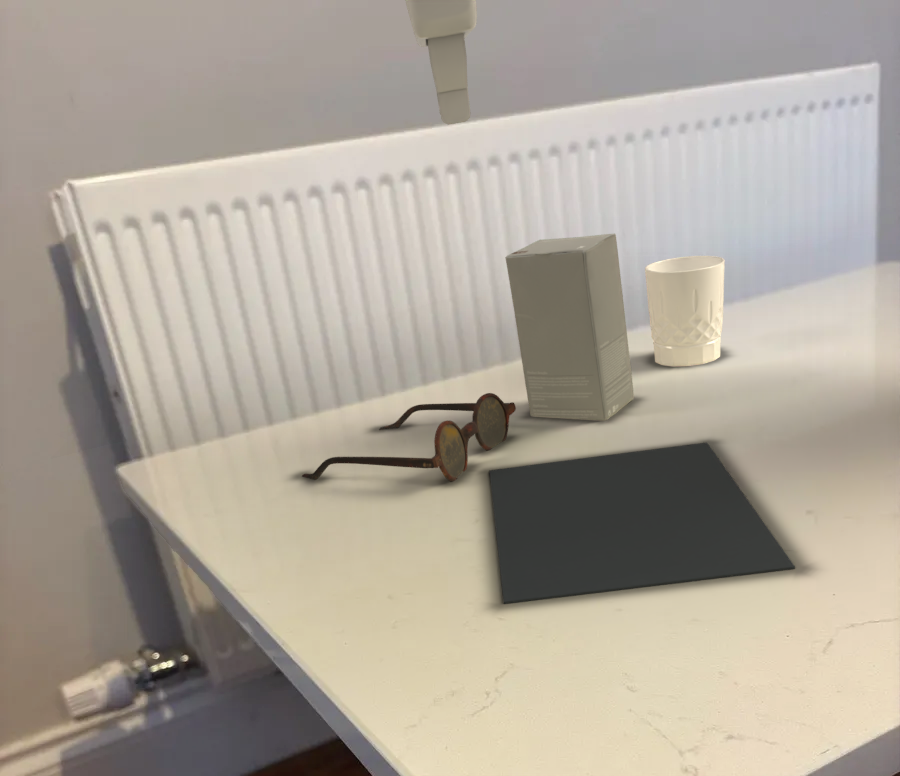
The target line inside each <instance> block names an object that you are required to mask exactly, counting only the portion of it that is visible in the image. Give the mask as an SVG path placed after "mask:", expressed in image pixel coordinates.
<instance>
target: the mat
mask: <svg viewBox="0 0 900 776" xmlns="http://www.w3.org/2000/svg"><path fill="white" fill-rule="evenodd" d="M489 479H490V480H489V482H490V490H491V497H492V509H493V517H494V526H495V535H496V544H497V545H496V546H497V554H498V563H499V574H500V581H501V583H500V584H501V590H502V599H503V600H502V602H503V605H509V604H517V603H526V602H534V601H535V602H536V601H542V600H550V599H552V600H553V599H558V598H568V597H575V596H584V595H592V594H600V593H608V592H617V591H624V590H625V591H626V590H634V589H641V588H642V589H643V588H649V587H650V588H651V587H659V586H666V585H674V584H675V585H676V584H681V583H690V582H701V581H706V580H707V581H708V580H717V579H724V578H725V579H726V578H732V577H733V578H734V577H741V576H749V575H756V574H765V573H773V572H782V571H790V570H795V569H796V566H795V565H794V563H793V562H792V560H791V559H790V557H789V556H788V555H787V553H786V551H785V550H784V549H783V547H782V546H781V544H780V543H779V542H778V541H777V539H776V538H775V536H774V535H773V533H772V532H771V530H770V529H769V528H768V526H767V525H766V524H765V522H764V521H763V519H762V518H761V517H760V515H759V514H758V513H757V511H756V510H755V508H754V507H753V506H752V504H751V503H750V501H749V500H748V499H747V497H746V496H745V494H744V493H743V491H742V490H741V489H740V487H739V485H738V484H737V483H736V481H735V480H734V478H733V477H732V476H731V475H730V473H729V472H728V469H727V468H725V466H724V464H723V463H722V462H721V460H720V458H718V455H716V453H715V451H714V450H713V449H712V448H711V446H710V445H709V443H708V442H700V443H691V444H683V445H675V446H667V447H661V448H651V449H645V450H636V451H628V452H622V453H613V454H605V455H598V456H590V457H589V456H588V457H583V458H574V459H567V460H557V461H552V462H542V463H536V464H528V465H520V466H512V467H504V468H499V469H497V468H496V469H490V470H489Z"/></svg>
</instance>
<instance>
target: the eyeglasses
mask: <svg viewBox="0 0 900 776" xmlns="http://www.w3.org/2000/svg"><path fill="white" fill-rule="evenodd" d="M516 409H517V407H516V404H515V402H504V401H503V400H502V398H500V397H499V396H498V395H497V394H495V393H492V392H487V393H484V394H482V395H481V396H480V397H479V398H478V399H476V402H457V403H456V402H455V403H453V402H452V403H451V402H449V403H422V404H416V405H413V406H410V407H409V408H408V409H407V410H406V411H404V413H403V414H402V415H400V417H399V418H398V419H397V420H396V421H395V422H393V423H391V424H387V425H384V426H381V427H380V428H378V430H379V431H386V430H393V429H399V428H400V427H401V426H402V425H403V424H404V423H405V422H406V421H407V419H409V417H410V416H411V415H412V414H413V413H416V412H420V411H457V412H458V411H459V412H472V418H471V419H472V420H471V421H470V422H468V423H466V424H465V425H464V426H463V427H462V428H460V427H459V426H458V425H457V423H455V422H454V421H452V420H444V421H442V422H441V423H440V424H439V425H438V426H437V428H436V431H435V435H434V441H433V442H434V455H433V456H432V457H405V456H404V457H401V456H399V457H398V456H332V457H329V458H327V459H325V460H323V462H322V463H320V465H318V467H317V468H316V469H315V471H313V473H302V475H301V477H303V478H307V479H311V480H317V479H319V478H320V477H321V476H322V474H323V473H324V472H325V471H326V469H328V467H329V466H331V465H334V464H349V465H350V464H353V465H354V464H355V465H356V464H357V465H368V466H370V465H371V466H382V467H383V466H385V467H396V468H397V467H398V468H413V469H438V468H439V470H440V471H441V473H442V475H443V476H444V477H445V479H447V480H448V481H449V482H455V481H456V480H457V479H458V477H459V476H460V475H461V474H462V473H464V472H465V471H466V470H467V469H468V460H469V458H468V457H469V456H468V454H469V453H468V447H469V446H468V445H469V440H470V439H471V438H472V437H473V436H475V440H476V441H477V443H478V445H479V446H480V447H481V448H482V449H484V450H485V451H491V450H492V449H493V448H495V447H496V446H498V445H499V444H501V443H502V442H505V441H506V439H507V438H508V433H509V426H510V417H511V415H512V414H513V413H514V412H516Z"/></svg>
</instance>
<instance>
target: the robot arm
mask: <svg viewBox="0 0 900 776" xmlns="http://www.w3.org/2000/svg"><path fill="white" fill-rule="evenodd" d="M404 1H405V5H406V8H407V13H408V16H409V21H410V24H411V27H412V31H413V35H414V37H415V41H416V43H417V45H418V46H419V47H421V48H426V47H427V48H428V56H429V57H428V58H429V63H430V64H429V65H430V69H431V73H432V77H433V82H434V86H435V87H434V88H435V91H436V97H437V106H438V113H439V115H440V119H441V121H442V123H444V124H446V125H447V126H448V125H454V124H455V125H456V124H461V123H465V122H467V121H469V119H470V118H471V114H472V113H471V104H470V96H469V90H468V89H469V88H468V63H467V62H468V61H467V60H468V59H467V49H466V41H465V40H466V38H468V36H469V35H470V34H471V32H472V31H473V30H474V29H475V28H476V26H477V24H478V23H477V21H478V8H477V0H404Z"/></svg>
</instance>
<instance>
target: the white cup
mask: <svg viewBox="0 0 900 776" xmlns="http://www.w3.org/2000/svg"><path fill="white" fill-rule="evenodd" d="M725 263H726V260H725V258H723V257H720V256H716V255H689V256H688V255H687V256H681V257H673V258H667V259H662V260H658V261H655V262H652V263H649V264H647V265H646V266H645V267H644V274H645V284H646V295H647V296H646V297H647V307H648V308H647V310H648V314H649V327H650V332H651V339H652V344H653V352H654V363H656V364H659V365H660V366H666V367H693V366H698V365H704V364H707V363H711V362H714V361H716V360H717V359H718V358H720V357H721V339H722V338H721V335H722V332H723V320H724V298H725V297H724V295H725V294H724V293H725V266H726V264H725Z"/></svg>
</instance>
